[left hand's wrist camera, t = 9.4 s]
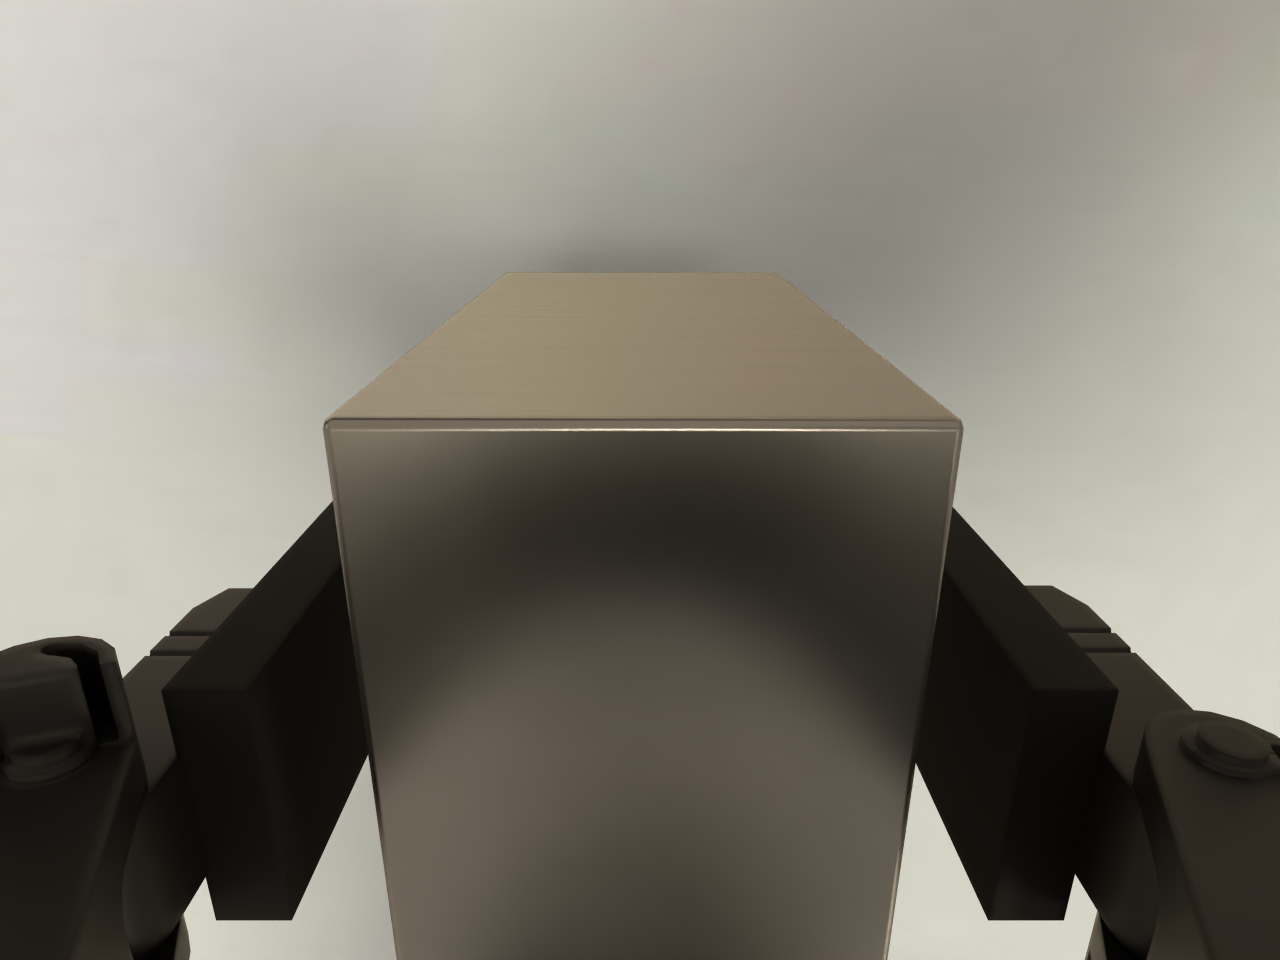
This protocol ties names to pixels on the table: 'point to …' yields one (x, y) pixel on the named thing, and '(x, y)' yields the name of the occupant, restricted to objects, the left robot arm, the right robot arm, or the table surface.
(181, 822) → the left robot arm
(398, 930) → the bar
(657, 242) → the table surface
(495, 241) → the table surface
